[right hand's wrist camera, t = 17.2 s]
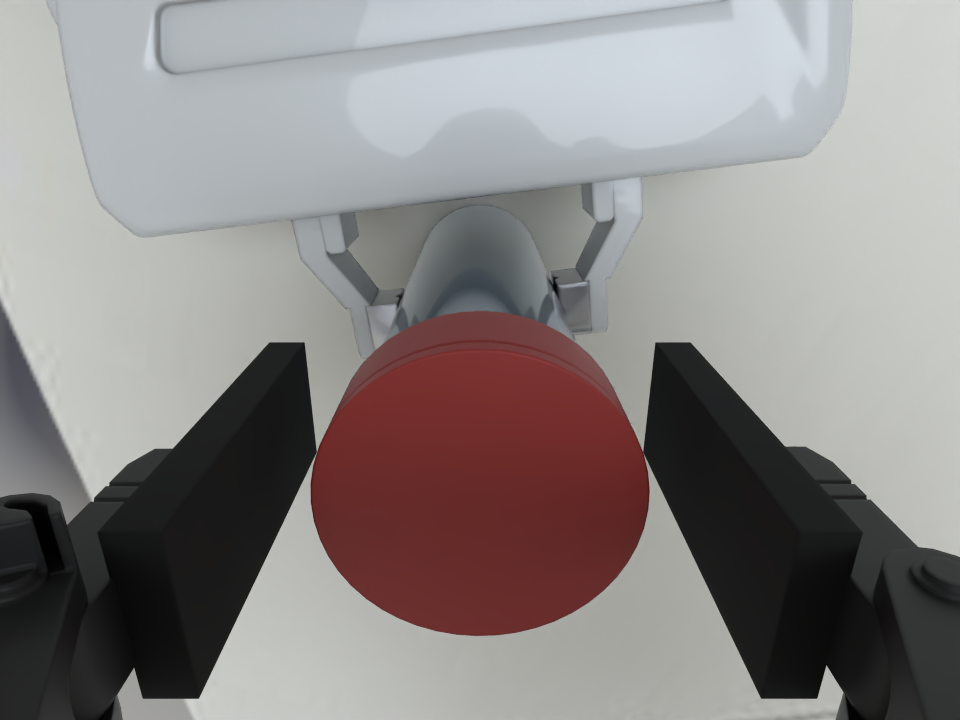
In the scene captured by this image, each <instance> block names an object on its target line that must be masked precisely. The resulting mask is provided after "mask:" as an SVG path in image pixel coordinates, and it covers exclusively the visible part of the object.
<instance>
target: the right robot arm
mask: <svg viewBox="0 0 960 720" xmlns="http://www.w3.org/2000/svg"><path fill="white" fill-rule="evenodd" d="M316 453H317V451H316V442H315V433H314V424H313V415H312V406H311V397H310V388H309V379H308V370H307V361H306V352H305V343H269V344H268V345H267V346H266V347H265V348H264V349H263V350H262V351H261V353H260V354H259V355H258V356H257V357H256V358H255V359H254V360H253V361H252V362H251V364H250V365H249V366H248V367H247V368H246V369H245V370H244V371H243V372H242V373H241V375H240V376H239V377H238V378H237V379H236V380H235V381H234V382H233V383H232V384H231V386H230V387H229V388H228V389H227V390H226V391H225V392H224V393H223V394H222V395H221V397H220V398H219V399H218V400H217V401H216V402H215V403H214V404H213V405H212V406H211V408H210V409H209V410H208V411H207V412H206V413H205V414H204V415H203V416H202V417H201V419H200V420H199V421H198V422H197V423H196V424H195V425H194V426H193V427H192V428H191V430H190V431H189V432H188V433H187V434H186V435H185V436H184V437H183V438H182V439H181V441H180V442H179V443H178V444H177V445H176V446H175V447H174V448H173V449H154V450H152V451H150V452H149V453H147V454H145V455H143V456H142V457H140V458H138V459H136V460H135V461H133V462H131V463H129V464H128V465H127V466H126V467H125V468H124V469H123V470H122V471H121V472H120V473H119V474H118V475H117V476H116V477H115V478H114V479H113V480H112V481H111V482H110V483H109V484H110V485H109V486H106V487H105V488H104V489H103V490H102V491H101V492H100V493H99V494H98V495H97V496H96V497H95V498H94V502H90V503H89V504H88V505H87V506H86V507H85V508H84V509H83V510H82V511H81V512H80V513H79V514H78V515H77V516H76V517H75V518H74V519H73V520H72V521H71V522H70V523H69V524H68V525H67V524H66V521H65V517H64V514H63V511H62V507H61V504H60V502H59V501H58V500H56V499H55V498H53V497H52V496H50V495H43V494H35V493H28V494H19V495H9V496H5V497H1V498H0V720H123V719H122V713H121V707H120V703H119V700H118V697H117V694H118V692H119V691H120V689H121V688H122V686H123V684H124V683H125V681H126V680H127V678H128V676H129V675H130V673H131V672H132V670H133V668H135V672H136V675H137V679H138V683H139V686H140V690H141V694H142V697H143V699H199V697H200V695H201V693H202V691H203V689H204V687H205V685H206V682H207V680H208V678H209V676H210V674H211V672H212V670H213V668H214V666H215V664H216V662H217V660H218V657H219V655H220V653H221V651H222V649H223V647H224V645H225V643H226V641H227V639H228V637H229V634H230V632H231V630H232V628H233V626H234V624H235V622H236V620H237V618H238V616H239V614H240V611H241V609H242V607H243V605H244V603H245V601H246V599H247V597H248V595H249V593H250V591H251V588H252V586H253V584H254V582H255V580H256V578H257V576H258V574H259V572H260V570H261V568H262V565H263V563H264V561H265V559H266V557H267V555H268V553H269V551H270V549H271V547H272V545H273V543H274V540H275V538H276V536H277V534H278V532H279V530H280V528H281V526H282V524H283V522H284V520H285V517H286V515H287V513H288V511H289V509H290V507H291V505H292V503H293V501H294V499H295V497H296V494H297V492H298V490H299V488H300V486H301V484H302V482H303V480H304V478H305V476H306V474H307V471H308V469H309V467H310V465H311V463H312V461H313V459H314V457H315V455H316ZM643 453H644V455H645V457H646V459H647V461H648V463H649V465H650V467H651V469H652V471H653V474H654V476H655V478H656V480H657V482H658V484H659V486H660V488H661V490H662V492H663V494H664V497H665V499H666V501H667V503H668V505H669V507H670V509H671V511H672V513H673V515H674V517H675V520H676V522H677V524H678V526H679V528H680V530H681V532H682V534H683V536H684V538H685V540H686V543H687V545H688V547H689V549H690V551H691V553H692V555H693V557H694V559H695V561H696V563H697V565H698V568H699V570H700V572H701V574H702V576H703V578H704V580H705V582H706V584H707V586H708V588H709V591H710V593H711V595H712V597H713V599H714V601H715V603H716V605H717V607H718V609H719V611H720V614H721V616H722V618H723V620H724V622H725V624H726V626H727V628H728V630H729V632H730V634H731V637H732V639H733V641H734V643H735V645H736V647H737V649H738V651H739V653H740V655H741V657H742V660H743V662H744V664H745V666H746V668H747V670H748V672H749V674H750V676H751V678H752V680H753V682H754V685H755V687H756V689H757V691H758V693H759V695H760V697H761V699H817V697H818V694H819V690H820V686H821V683H822V679H823V675H824V672H825V668H826V665H827V667H828V668H829V670H830V671H831V673H832V675H833V676H834V678H835V679H836V681H837V683H838V684H839V686H840V687H841V689H842V691H843V692H844V693H843V696H842V700H841V703H840V707H839V710H838V713H837V717H836V720H960V557H958V556H955V555H952V554H948V553H945V552H942V551H938V550H935V549H929V548H920V547H917V546H916V545H915V544H914V543H913V542H912V541H911V540H910V539H909V538H908V537H907V536H906V535H905V534H904V533H903V532H902V531H901V530H900V529H899V528H898V527H897V526H896V525H895V524H894V523H893V522H892V521H891V520H890V519H889V518H888V517H887V516H886V515H885V514H884V513H883V512H882V511H881V510H880V509H879V508H878V507H877V506H876V505H875V504H874V503H873V502H872V501H871V500H867V498H866V495H865V494H864V493H863V492H862V491H861V490H860V489H859V488H858V487H857V486H856V485H855V484H851V480H850V479H849V478H848V477H847V476H846V475H845V474H844V473H843V472H842V471H841V470H840V469H839V468H838V467H837V466H836V465H835V464H834V463H833V462H831V461H830V460H828V459H826V458H824V457H823V456H821V455H819V454H817V453H816V452H814V451H812V450H810V449H808V448H807V447H785V446H784V445H783V444H782V443H781V442H780V441H779V439H778V438H777V437H776V436H775V435H774V434H773V433H772V432H771V431H770V430H769V428H768V427H767V426H766V425H765V424H764V423H763V422H762V421H761V420H760V419H759V417H758V416H757V415H756V414H755V413H754V412H753V411H752V410H751V409H750V408H749V406H748V405H747V404H746V403H745V402H744V401H743V400H742V399H741V398H740V397H739V395H738V394H737V393H736V392H735V391H734V390H733V389H732V388H731V387H730V386H729V384H728V383H727V382H726V381H725V380H724V379H723V378H722V377H721V376H720V375H719V373H718V372H717V371H716V370H715V369H714V368H713V367H712V366H711V365H710V364H709V362H708V361H707V360H706V359H705V358H704V357H703V356H702V355H701V354H700V353H699V351H698V350H697V349H696V348H695V347H694V346H693V345H692V344H691V343H655V352H654V361H653V370H652V379H651V388H650V397H649V406H648V415H647V424H646V433H645V442H644V451H643Z"/></svg>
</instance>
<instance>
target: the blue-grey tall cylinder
mask: <svg viewBox="0 0 960 720" xmlns="http://www.w3.org/2000/svg"><path fill="white" fill-rule="evenodd" d="M468 311H491V312H503V313H508V314H513V315H518V316H522V317H526V318H529V319H532V320H534V321H537V322H540V323H543V324H545V325H547V326H549V327H551V328H553V329H555V330H557V331H559V332H561V333H562V334H564V335H565V336H567V337H568V338H570V339H571V340H573V341H574V342H575V343H577V342H576V340H575V337H574V335H573V332H572V330H571V328H570V325H569V323H568V320H567V318H566V316H565V313H564V311H563V308H562V306H561V304H560V301H559V299H558V296H557V294H556V292H555V289H554V287H553V285H552V282H551V280H550V277H549V275H548V273H547V270H546V268H545V265H544V263H543V261H542V258H541V256H540V253H539V251H538V249H537V246H536V244H535V242H534V239H533V237H532V235H531V234H530V232H529V230H528V229H527V228H526V226H525V225H524V224H523V223H522V222H521V221H520V220H519V219H518V218H516V217H515V216H514V215H512V214H510V213H509V212H507V211H505V210H502V209H500V208H497V207H493V206H486V205H473V206H467V207H463V208H460V209H458V210H455V211H453V212H451V213H450V214H448V215H446V216H445V217H444V218H443V219H441V220H440V221H439V222H438V223H437V224H436V225H435V226H434V228H433V229H432V230H431V232H430V233H429V235H428V237H427V239H426V241H425V244H424V246H423V248H422V251H421V253H420V256H419V258H418V260H417V263H416V265H415V268H414V270H413V272H412V275H411V277H410V279H409V282H408V284H407V287H406V289H405V291H404V294H403V296H402V299H401V301H400V303H399V306H398V308H397V310H396V313H395V315H394V318H393V320H392V322H391V325H390V327H389V330H388V332H387V334H386V337H385V339H384V341H383V344H384V343H385V342H386V341H387V340H388V339H390V338H392V337H393V336H395V335H396V334H398V333H400V332H401V331H403V330H405V329H407V328H409V327H411V326H413V325H415V324H418V323H420V322H422V321H425V320H428V319H431V318H435V317H438V316H442V315H446V314H452V313H458V312H468Z"/></svg>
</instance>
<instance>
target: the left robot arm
mask: <svg viewBox="0 0 960 720" xmlns="http://www.w3.org/2000/svg"><path fill="white" fill-rule="evenodd" d="M46 2H47V5H48V8H49V10H50V13H51V15H52V17H53V18H54V20H55V22H56V24H57V25H58V31H59V37H60V43H61V50H62V56H63V62H64V68H65V73H66V79H67V85H68V90H69V95H70V99H71V104H72V109H73V113H74V118H75V123H76V127H77V131H78V135H79V139H80V143H81V148H82V152H83V155H84V159H85V163H86V166H87V170H88V174H89V177H90V181H91V184H92V187H93V190H94V193H95V195H96V197H97V200H98V202H99V204H100V205H101V206H102V208H103V209H105V210H106V211H107V212H108V213H109V214H110V215H111V216H112V217H114V218H115V219H116V220H117V221H118V222H119V223H120V224H122V225H123V226H124V227H125V228H127V229H128V230H129V231H130V232H132V233H133V234H134V235H136V236H139V237H155V236H163V235H171V234H179V233H188V232H196V231H204V230H212V229H220V228H228V227H237V226H245V225H253V224H261V223H269V222H277V221H286V220H292V224H293V228H294V233H295V237H296V242H297V246H298V250H299V255H300V259H301V260H302V261H303V262H304V263H305V264H306V265H307V267H308V268H309V269H310V270H311V271H312V272H313V273H314V274H315V275H316V277H317V278H318V279H319V280H320V281H321V282H322V283H323V284H324V285H325V287H326V288H327V289H328V290H329V291H330V292H331V293H332V294H333V295H334V297H335V298H336V299H337V300H338V301H339V302H340V303H341V304H342V305H343V307H344V308H345V309H348V308H350V313H351V318H352V322H353V327H354V332H355V337H356V341H357V346H358V351H359V354H360V356H361V357H362V358H368V357H369V356H370V355H371V354H372V353H373V352H374V351H375V350H376V349H377V348H379V347H380V346H381V345H382V344H383V341H384V339H385V337H386V334H387V332H388V330H389V327H390V325H391V322H392V320H393V318H394V315H395V313H396V310H397V308H398V306H399V303H400V301H401V299H402V296H403V294H404V289H393V290H382V291H379V289H378V288H377V286H376V285H375V284H374V283H373V281H372V280H371V279H370V278H369V276H368V275H367V274H366V272H365V271H364V270H363V269H362V267H361V266H360V265H359V264H358V262H357V261H356V260H355V259H354V257H353V256H352V255H351V254H350V252H349V251H348V250H347V248H348V247H349V246H350V245H351V244H352V243H353V242H354V241H355V240H356V238H357V237H358V236H359V234H358V228H357V223H356V217H355V212H359V211H367V210H375V209H384V208H392V207H400V206H408V205H416V204H424V203H433V202H441V201H449V200H457V199H465V198H473V197H482V196H490V195H498V194H506V193H514V192H522V191H531V190H539V189H547V188H555V187H563V186H571V185H580V184H581V190H582V204H583V209H584V210H585V211H586V212H587V213H588V214H589V215H590V216H591V217H592V218H593V219H595V220H596V221H597V222H596V224H595V226H594V228H593V230H592V233H591V235H590V237H589V239H588V241H587V243H586V245H585V247H584V250H583V252H582V254H581V256H580V258H579V260H578V262H577V264H576V268H571V269H564V270H557V271H551V276H552V285H553V287H554V289H555V292H556V294H557V296H558V299H559V301H560V304H561V306H562V308H563V311H564V313H565V316H566V318H567V320H568V323H569V325H570V328H571V330H572V332H573V335H578V334H588V333H596V332H605V331H606V330H607V324H608V319H607V296H606V279H608V278H610V277H611V275H612V273H613V272H614V270H615V268H616V266H617V264H618V262H619V260H620V259H621V257H622V255H623V253H624V251H625V249H626V248H627V246H628V244H629V242H630V240H631V238H632V236H633V235H634V233H635V231H636V229H637V227H638V225H639V224H640V222H641V220H642V177H645V176H653V175H661V174H669V173H678V172H686V171H694V170H702V169H710V168H718V167H727V166H735V165H743V164H751V163H759V162H767V161H775V160H783V159H791V158H799V157H803V156H806V155H808V154H809V153H811V152H812V151H813V150H814V148H815V147H816V146H817V145H818V144H819V143H820V141H821V140H822V139H823V137H824V136H825V135H826V133H827V132H828V130H829V129H830V128H831V126H832V125H833V124H834V122H835V121H836V119H837V118H838V117H839V115H840V113H841V111H842V108H843V105H844V101H845V96H846V91H847V83H848V74H849V62H850V48H851V32H852V6H853V0H46Z"/></svg>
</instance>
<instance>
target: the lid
mask: <svg viewBox="0 0 960 720" xmlns="http://www.w3.org/2000/svg"><path fill="white" fill-rule="evenodd" d="M648 505H649V479H648V470H647V466H646V462H645V458H644V454H643V451H642V449H641V446H640V444H639V442H638V439H637V437H636V434H635V432H634V430H633V428H632V426H631V424H630V422H629V420H628V418H627V416H626V414H625V412H624V410H623V407H622V405H621V403H620V401H619V399H618V397H617V395H616V393H615V391H614V389H613V387H612V385H611V383H610V382H609V380H608V378H607V377H606V375H605V373H604V372H603V370H602V369H601V368H600V367H599V365H598V364H597V363H596V362H595V361H594V359H593V358H592V357H591V356H590V355H589V354H588V353H587V352H586V351H585V350H584V349H582V348H581V347H580V346H579V345H578V344H577V343H575V342H574V341H573V340H571V339H570V338H568V337H567V336H565V335H564V334H562V333H561V332H559V331H557V330H555V329H553V328H551V327H549V326H547V325H545V324H543V323H540V322H537V321H534V320H532V319H529V318H526V317H522V316H518V315H513V314H508V313H503V312H491V311H468V312H458V313H452V314H446V315H442V316H438V317H435V318H431V319H428V320H425V321H422V322H420V323H418V324H415V325H413V326H411V327H409V328H407V329H405V330H403V331H401V332H400V333H398V334H396V335H395V336H393V337H392V338H390V339H388V340H387V341H386V342H385V343H384V344H382V345H381V346H380V347H379V348H377V349H376V350H375V351H374V352H373V353H372V354H371V355H370V356H369V357H368V358H367V359H366V361H365V362H364V363H363V364H362V365H361V366H360V368H359V369H358V371H357V372H356V374H355V375H354V377H353V378H352V379H351V381H350V383H349V385H348V387H347V389H346V391H345V394H344V396H343V398H342V400H341V402H340V404H339V406H338V408H337V410H336V412H335V414H334V416H333V418H332V421H331V423H330V425H329V427H328V429H327V431H326V433H325V435H324V437H323V439H322V441H321V443H320V446H319V449H318V452H317V455H316V458H315V461H314V465H313V472H312V478H311V506H312V512H313V518H314V522H315V526H316V529H317V532H318V535H319V538H320V540H321V542H322V544H323V546H324V549H325V551H326V553H327V555H328V557H329V558H330V559H331V561H332V562H333V564H334V565H335V567H336V568H337V570H338V571H339V572H340V574H341V575H342V576H343V577H344V578H345V579H346V580H347V581H348V583H349V584H350V585H351V586H352V587H353V588H354V589H356V590H357V591H358V592H359V593H360V594H361V595H362V596H364V597H365V598H366V599H367V600H369V601H370V602H372V603H373V604H375V605H376V606H378V607H379V608H381V609H382V610H384V611H386V612H388V613H390V614H392V615H393V616H395V617H397V618H399V619H402V620H404V621H407V622H409V623H412V624H414V625H417V626H420V627H424V628H427V629H431V630H434V631H439V632H445V633H450V634H456V635H471V636H488V635H502V634H509V633H517V632H521V631H525V630H529V629H533V628H537V627H540V626H543V625H545V624H548V623H551V622H554V621H556V620H558V619H560V618H562V617H565V616H567V615H569V614H571V613H573V612H574V611H576V610H577V609H579V608H581V607H582V606H584V605H586V604H587V603H589V602H590V601H591V600H592V599H594V598H595V597H596V596H597V595H599V594H600V593H601V592H602V591H604V590H605V589H606V588H607V587H608V586H609V585H610V583H611V582H612V581H613V580H614V579H615V578H616V577H617V576H618V575H619V573H620V572H621V571H622V569H623V568H624V567H625V566H626V564H627V563H628V561H629V559H630V558H631V556H632V554H633V552H634V551H635V549H636V547H637V545H638V542H639V540H640V537H641V535H642V532H643V530H644V526H645V521H646V517H647V513H648Z"/></svg>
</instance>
